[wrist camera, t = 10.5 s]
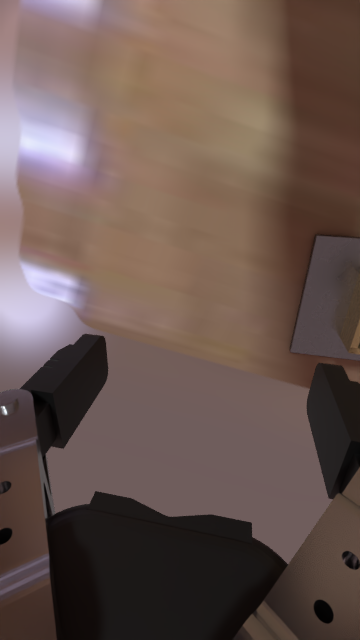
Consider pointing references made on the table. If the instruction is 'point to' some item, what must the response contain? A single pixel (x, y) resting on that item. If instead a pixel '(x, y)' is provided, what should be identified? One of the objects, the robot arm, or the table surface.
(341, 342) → the square socket base
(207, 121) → the table surface
